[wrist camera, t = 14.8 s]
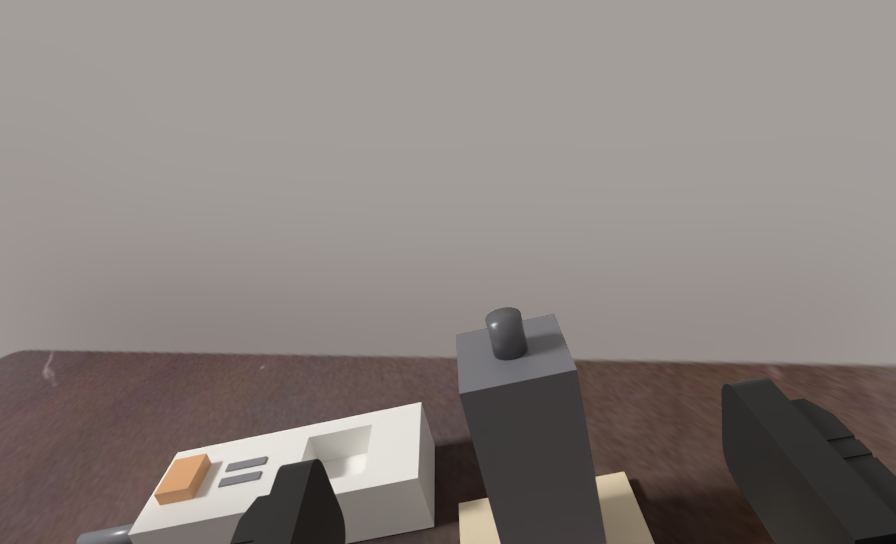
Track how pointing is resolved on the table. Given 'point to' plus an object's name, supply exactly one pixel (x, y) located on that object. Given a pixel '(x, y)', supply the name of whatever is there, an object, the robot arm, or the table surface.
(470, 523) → the cork pad
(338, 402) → the table surface
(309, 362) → the table surface
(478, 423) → the charger
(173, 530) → the power strip
